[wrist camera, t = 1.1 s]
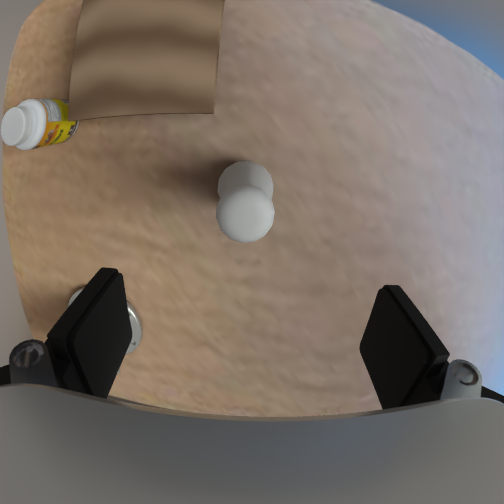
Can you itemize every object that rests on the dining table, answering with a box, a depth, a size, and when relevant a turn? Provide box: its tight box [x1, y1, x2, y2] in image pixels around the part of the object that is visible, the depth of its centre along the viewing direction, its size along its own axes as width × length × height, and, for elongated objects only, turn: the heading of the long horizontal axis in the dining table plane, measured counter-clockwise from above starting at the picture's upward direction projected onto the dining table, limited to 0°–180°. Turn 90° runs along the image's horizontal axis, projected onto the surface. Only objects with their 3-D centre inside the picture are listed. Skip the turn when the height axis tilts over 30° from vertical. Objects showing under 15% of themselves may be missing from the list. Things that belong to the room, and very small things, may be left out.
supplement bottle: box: [1, 99, 79, 150], centre depth 24 cm, size 6×6×10 cm
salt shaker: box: [216, 161, 275, 243], centre depth 27 cm, size 6×6×13 cm
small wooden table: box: [68, 0, 225, 121], centre depth 23 cm, size 15×15×6 cm
